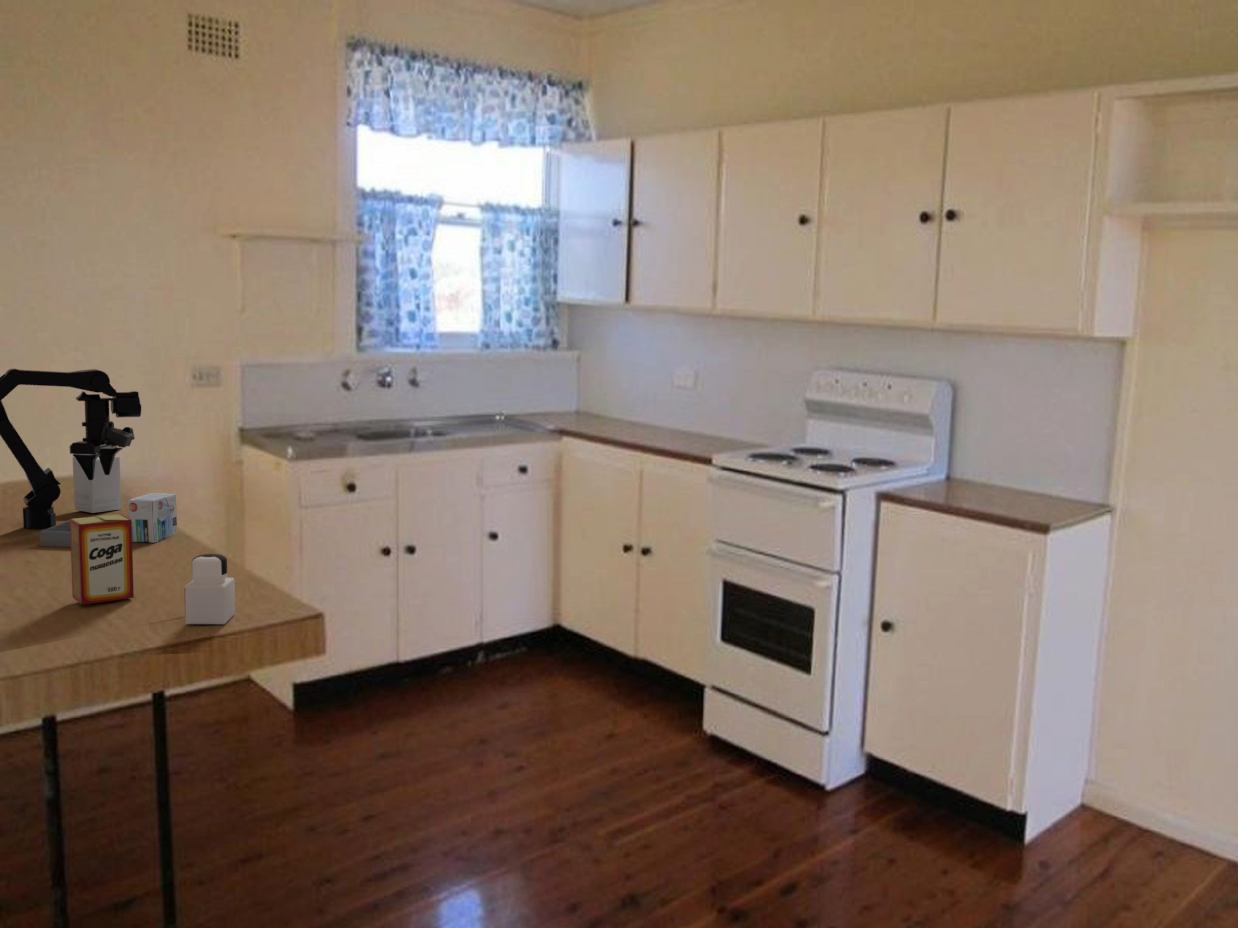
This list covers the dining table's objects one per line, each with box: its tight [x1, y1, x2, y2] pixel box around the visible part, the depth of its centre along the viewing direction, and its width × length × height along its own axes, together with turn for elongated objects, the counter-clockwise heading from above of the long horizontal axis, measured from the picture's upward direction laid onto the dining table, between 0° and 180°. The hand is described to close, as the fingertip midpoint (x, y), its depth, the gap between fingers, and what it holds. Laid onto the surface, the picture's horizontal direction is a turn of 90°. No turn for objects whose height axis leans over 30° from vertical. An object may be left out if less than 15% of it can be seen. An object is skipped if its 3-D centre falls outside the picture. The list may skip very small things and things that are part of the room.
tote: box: [39, 519, 71, 548], centre depth 262 cm, size 15×15×4 cm
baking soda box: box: [69, 513, 134, 606], centre depth 211 cm, size 10×6×16 cm
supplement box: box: [72, 456, 122, 514], centre depth 300 cm, size 9×9×15 cm
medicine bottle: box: [184, 553, 236, 625], centre depth 199 cm, size 7×7×12 cm
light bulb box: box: [127, 492, 178, 544], centre depth 265 cm, size 11×7×11 cm
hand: (99, 477), depth 282 cm, fingers open, 9 cm apart
